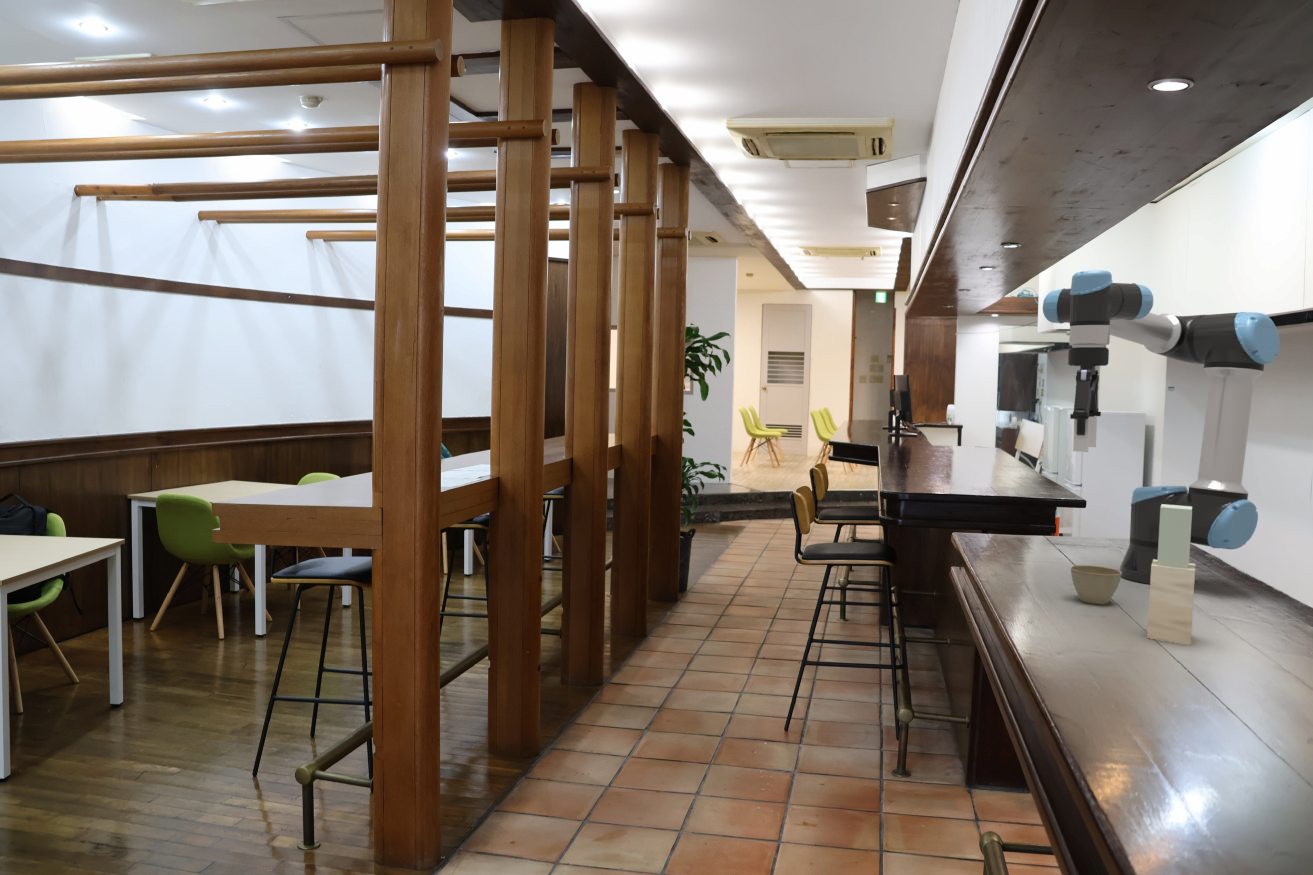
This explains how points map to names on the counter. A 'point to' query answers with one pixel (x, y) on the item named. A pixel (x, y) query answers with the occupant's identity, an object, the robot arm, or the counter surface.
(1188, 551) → the sage block
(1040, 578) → the counter surface
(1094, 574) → the flower pot
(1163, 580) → the tower top
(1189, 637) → the tower base
